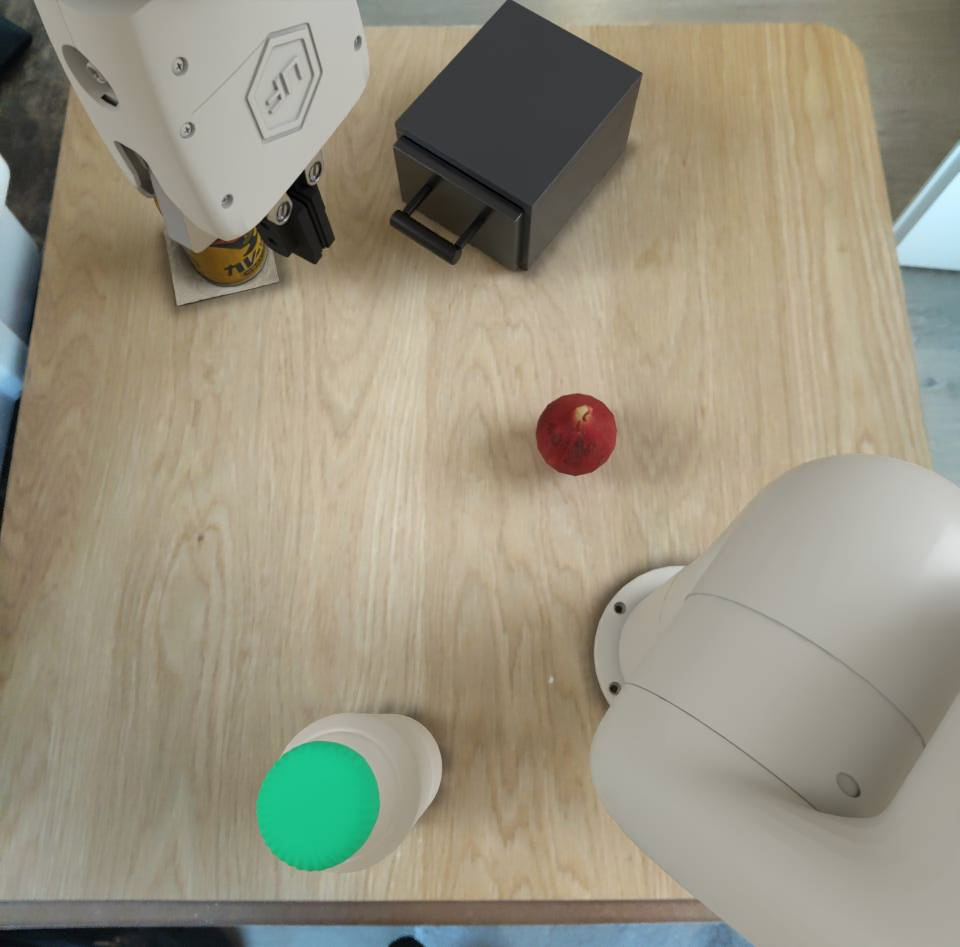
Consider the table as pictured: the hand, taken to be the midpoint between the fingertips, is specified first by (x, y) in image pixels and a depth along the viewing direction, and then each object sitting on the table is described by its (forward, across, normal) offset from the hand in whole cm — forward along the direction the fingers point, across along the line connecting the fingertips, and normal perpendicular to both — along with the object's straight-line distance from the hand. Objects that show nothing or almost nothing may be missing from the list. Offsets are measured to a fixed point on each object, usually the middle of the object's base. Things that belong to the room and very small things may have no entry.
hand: (300, 239), depth 39 cm
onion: (+24, +6, -14) cm, 29 cm away
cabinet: (+24, +25, +3) cm, 35 cm away
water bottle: (+25, -20, -15) cm, 35 cm away
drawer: (+23, +21, +3) cm, 31 cm away
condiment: (+24, +5, +19) cm, 31 cm away
